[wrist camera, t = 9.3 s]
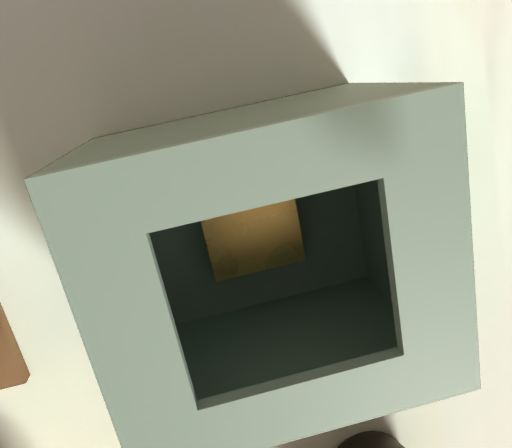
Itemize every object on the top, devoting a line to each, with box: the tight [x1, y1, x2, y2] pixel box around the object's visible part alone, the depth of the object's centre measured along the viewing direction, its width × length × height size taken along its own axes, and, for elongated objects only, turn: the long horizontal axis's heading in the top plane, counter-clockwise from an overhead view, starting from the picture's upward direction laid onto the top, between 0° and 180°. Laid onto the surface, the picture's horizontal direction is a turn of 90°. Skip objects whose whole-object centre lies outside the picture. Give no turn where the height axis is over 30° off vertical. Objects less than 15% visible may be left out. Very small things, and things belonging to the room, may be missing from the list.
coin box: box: [24, 82, 481, 448], centre depth 22 cm, size 14×12×11 cm
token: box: [201, 199, 306, 282], centre depth 25 cm, size 5×5×2 cm
